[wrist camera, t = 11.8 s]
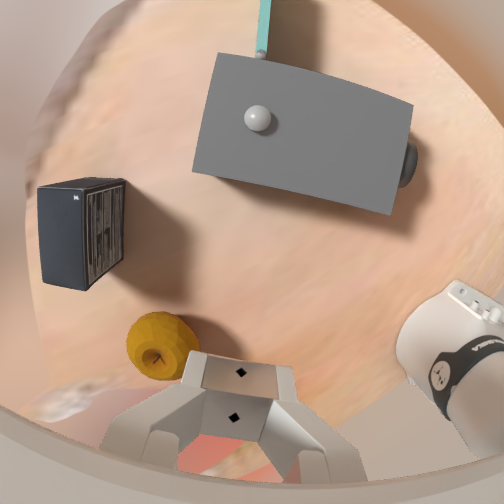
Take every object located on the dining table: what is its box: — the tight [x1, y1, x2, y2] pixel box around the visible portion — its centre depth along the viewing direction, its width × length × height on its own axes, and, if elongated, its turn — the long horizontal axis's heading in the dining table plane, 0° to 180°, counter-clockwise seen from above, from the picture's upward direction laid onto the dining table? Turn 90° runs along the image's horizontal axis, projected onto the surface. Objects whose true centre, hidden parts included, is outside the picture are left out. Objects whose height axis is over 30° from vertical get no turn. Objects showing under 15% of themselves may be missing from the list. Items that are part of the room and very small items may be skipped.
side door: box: [256, 0, 271, 60], centre depth 27 cm, size 14×2×7 cm, turn 175°
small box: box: [37, 177, 125, 291], centre depth 32 cm, size 11×6×10 cm, turn 173°
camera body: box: [192, 53, 418, 216], centre depth 31 cm, size 22×12×8 cm, turn 78°
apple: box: [126, 312, 200, 380], centre depth 37 cm, size 9×9×9 cm
